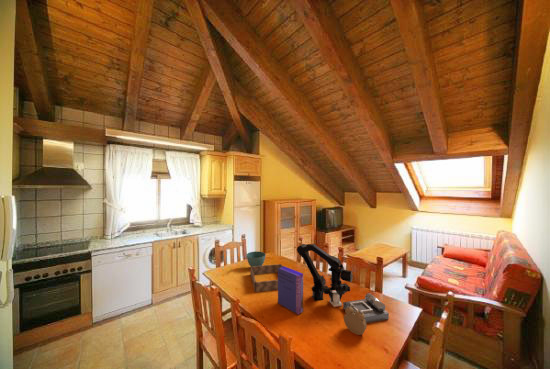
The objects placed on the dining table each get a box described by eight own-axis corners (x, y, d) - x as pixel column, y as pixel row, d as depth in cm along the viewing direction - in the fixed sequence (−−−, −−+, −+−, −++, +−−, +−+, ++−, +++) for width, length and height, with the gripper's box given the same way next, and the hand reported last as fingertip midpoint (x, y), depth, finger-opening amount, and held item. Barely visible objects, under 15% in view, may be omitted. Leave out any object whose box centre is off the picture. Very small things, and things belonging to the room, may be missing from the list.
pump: (333, 306, 134) (333, 295, 134) (327, 299, 142) (328, 289, 142) (342, 305, 135) (342, 294, 135) (335, 298, 143) (335, 288, 143)
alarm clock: (367, 335, 108) (367, 307, 108) (363, 341, 105) (363, 311, 105) (346, 325, 116) (346, 299, 116) (342, 330, 112) (342, 303, 112)
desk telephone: (358, 325, 117) (358, 309, 117) (343, 308, 132) (343, 294, 132) (388, 319, 121) (388, 304, 121) (370, 304, 137) (370, 290, 137)
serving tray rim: (254, 292, 151) (254, 282, 151) (250, 274, 181) (250, 266, 181) (291, 288, 158) (291, 278, 158) (281, 271, 187) (281, 263, 187)
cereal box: (303, 311, 129) (303, 273, 129) (298, 314, 126) (298, 275, 126) (282, 300, 141) (282, 265, 141) (277, 303, 138) (278, 267, 138)
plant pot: (242, 266, 197) (242, 254, 197) (257, 261, 210) (257, 250, 210) (254, 273, 184) (254, 259, 184) (269, 267, 196) (269, 254, 196)
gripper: (328, 285, 128) (328, 310, 128) (355, 282, 132) (355, 306, 132) (320, 277, 138) (320, 300, 139) (345, 274, 143) (345, 297, 143)
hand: (335, 301), depth 138 cm, fingers closed on pump, 5 cm apart
